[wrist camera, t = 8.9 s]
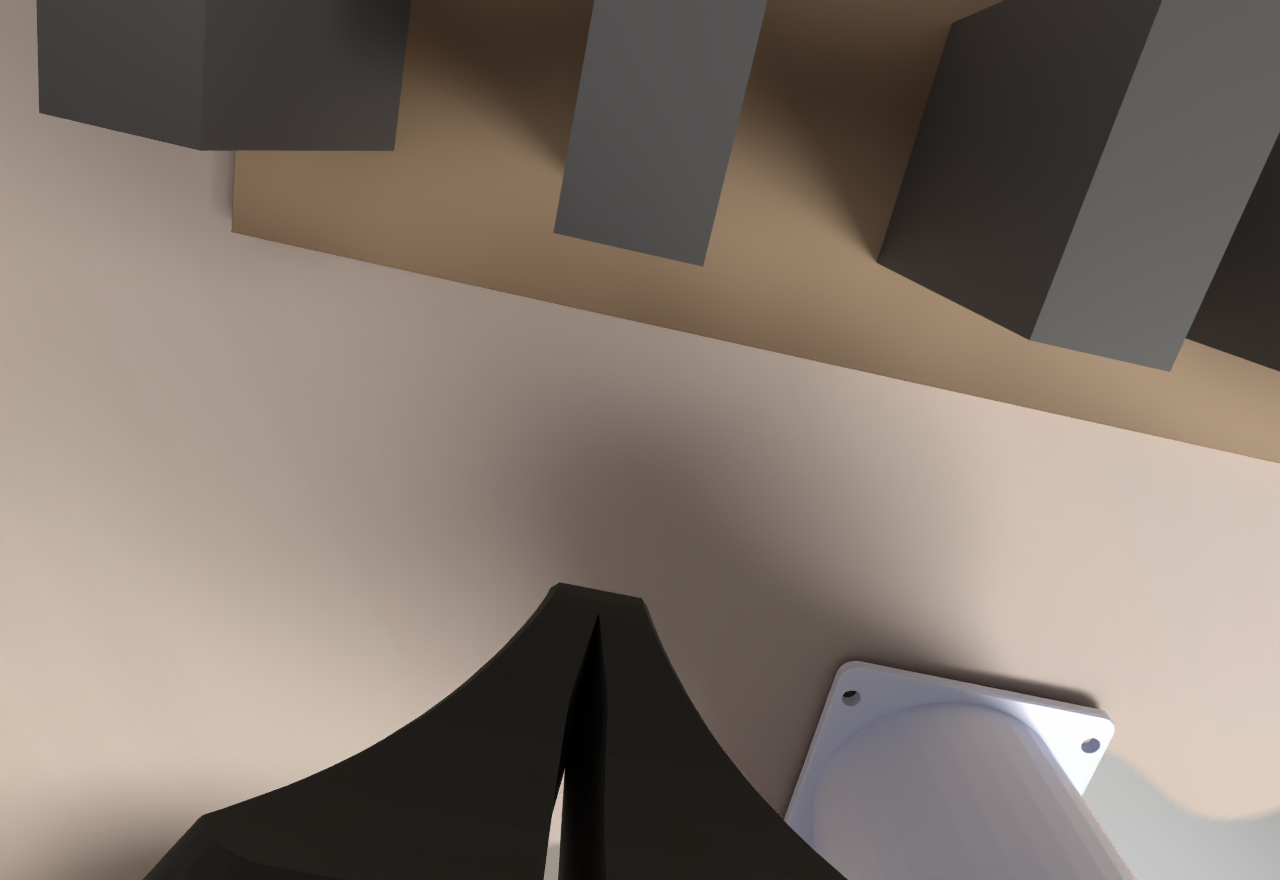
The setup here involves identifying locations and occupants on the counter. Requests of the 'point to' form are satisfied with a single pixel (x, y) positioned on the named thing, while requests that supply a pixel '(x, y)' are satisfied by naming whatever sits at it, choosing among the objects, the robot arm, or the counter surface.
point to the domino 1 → (228, 70)
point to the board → (718, 212)
